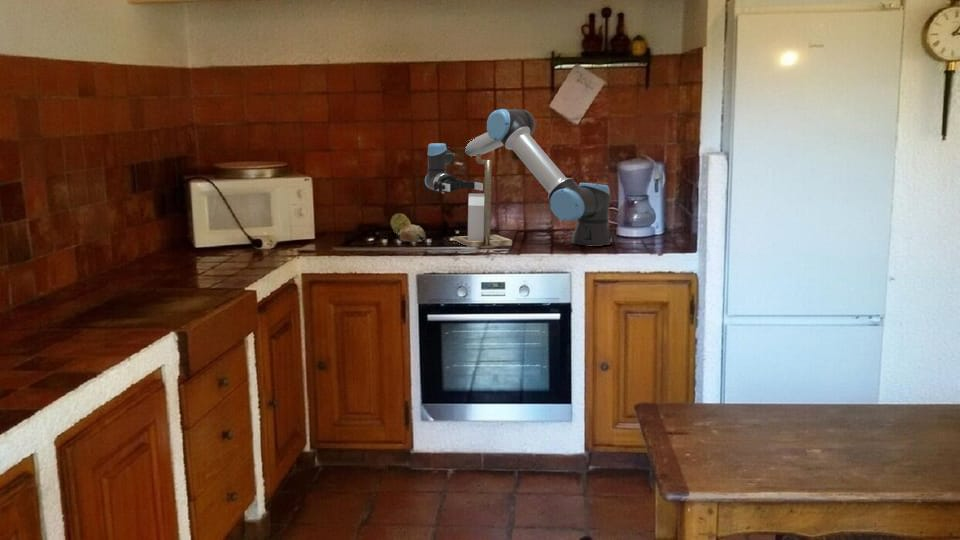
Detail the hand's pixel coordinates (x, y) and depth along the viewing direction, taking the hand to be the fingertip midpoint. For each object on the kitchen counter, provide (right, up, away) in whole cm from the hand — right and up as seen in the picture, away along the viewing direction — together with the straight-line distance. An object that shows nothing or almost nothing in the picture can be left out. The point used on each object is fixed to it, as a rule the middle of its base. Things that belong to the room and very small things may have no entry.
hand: (465, 187), depth 354 cm
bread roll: (-21, -21, 0) cm, 29 cm away
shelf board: (+6, -22, -6) cm, 23 cm away
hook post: (+6, -23, -10) cm, 26 cm away
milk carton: (+4, -22, -6) cm, 23 cm away
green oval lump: (-26, -18, +14) cm, 34 cm away
